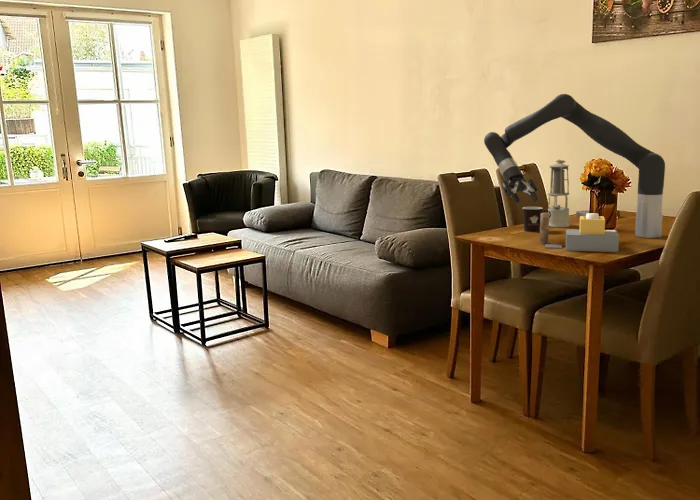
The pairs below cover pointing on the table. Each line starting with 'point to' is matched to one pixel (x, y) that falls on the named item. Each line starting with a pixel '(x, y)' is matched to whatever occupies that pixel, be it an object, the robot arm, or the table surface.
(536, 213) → the coffee mug
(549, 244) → the rest pad
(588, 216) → the breaker button
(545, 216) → the brown wooden cylinder
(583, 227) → the grey base plinth
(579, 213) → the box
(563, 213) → the lamp
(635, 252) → the table surface
